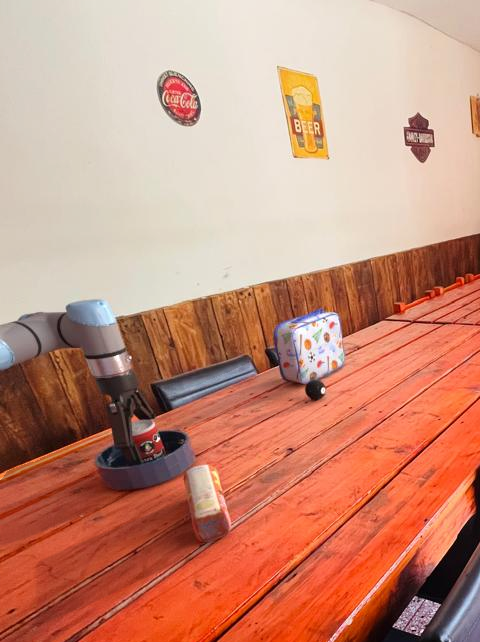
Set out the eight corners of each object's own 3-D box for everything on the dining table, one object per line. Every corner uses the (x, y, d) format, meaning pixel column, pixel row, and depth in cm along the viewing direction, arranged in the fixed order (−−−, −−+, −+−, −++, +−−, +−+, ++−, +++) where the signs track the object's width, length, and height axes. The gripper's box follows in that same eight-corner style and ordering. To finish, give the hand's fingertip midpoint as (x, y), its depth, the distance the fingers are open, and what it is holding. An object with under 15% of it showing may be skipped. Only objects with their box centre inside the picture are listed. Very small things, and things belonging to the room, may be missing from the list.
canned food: (139, 479, 117) (122, 437, 112) (128, 469, 122) (111, 428, 117) (174, 466, 122) (159, 424, 117) (162, 456, 127) (147, 416, 122)
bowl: (83, 489, 116) (73, 466, 113) (149, 449, 133) (141, 428, 130) (155, 495, 112) (145, 471, 109) (213, 453, 129) (206, 431, 126)
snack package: (235, 534, 97) (225, 505, 94) (197, 547, 94) (186, 517, 91) (222, 486, 114) (213, 459, 111) (189, 495, 111) (179, 468, 108)
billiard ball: (315, 394, 162) (311, 376, 159) (331, 396, 160) (327, 378, 157) (303, 401, 157) (299, 383, 154) (319, 403, 155) (315, 384, 152)
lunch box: (329, 361, 192) (318, 302, 182) (352, 363, 189) (342, 303, 179) (279, 387, 169) (263, 321, 160) (305, 390, 166) (290, 323, 156)
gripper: (114, 389, 101) (150, 480, 111) (148, 354, 123) (176, 433, 132) (71, 395, 100) (111, 487, 109) (113, 359, 121) (144, 438, 131)
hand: (147, 457), depth 121 cm, fingers open, 13 cm apart
